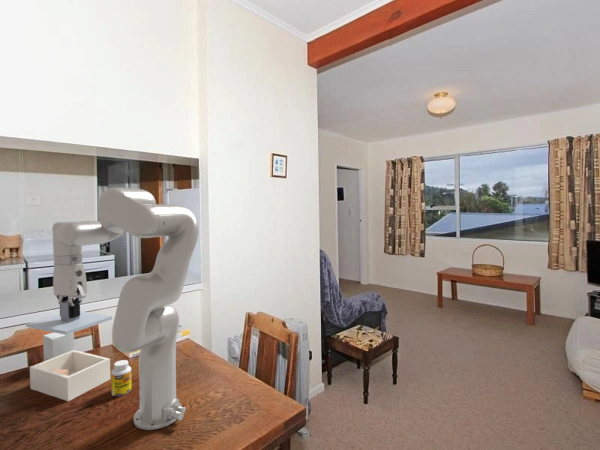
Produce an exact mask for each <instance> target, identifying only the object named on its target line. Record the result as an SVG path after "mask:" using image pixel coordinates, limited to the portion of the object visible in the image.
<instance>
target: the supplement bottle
mask: <svg viewBox="0 0 600 450" xmlns="http://www.w3.org/2000/svg"><path fill="white" fill-rule="evenodd" d="M110 381H111V396H113V397H122V396H127V395H128V394H129V393H131V392H132V367H131V366H130V365H129V361H128V360H127V359H123V360H122V359H121V360H117V361H115V362H114V363H113V369H112V370H111V371H110Z"/></svg>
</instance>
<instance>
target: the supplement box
mask: <svg viewBox="0 0 600 450" xmlns="http://www.w3.org/2000/svg"><path fill="white" fill-rule="evenodd" d="M42 345H43V347H42V349H43V362H44V361H47V360H49V359H52V358H54V357H57V356H59V355H62V354H65V353H67V352H70V351H72V350H75V332H74V333H71V334H68V335H64V334H59V333H54V332H50V333H47V334H44V335H42Z"/></svg>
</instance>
